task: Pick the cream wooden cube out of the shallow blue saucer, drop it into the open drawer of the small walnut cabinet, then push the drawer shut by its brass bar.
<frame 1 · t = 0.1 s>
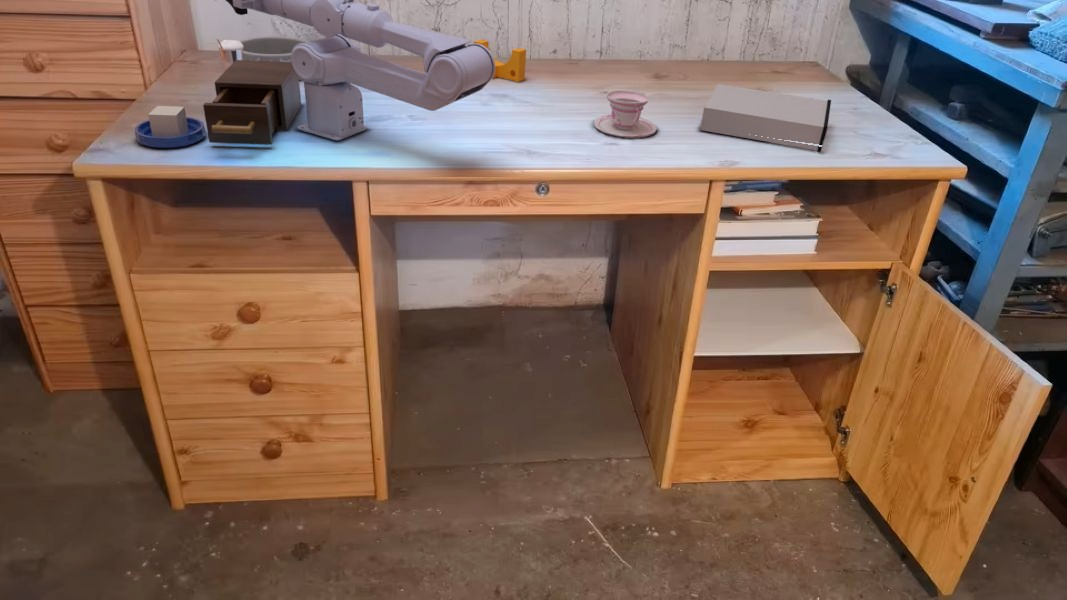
cabinet: (263, 116, 143), on the table
disc drive: (764, 128, 154), on the table
teacup: (624, 128, 149), on the table
dog bowl: (276, 71, 167), on the table
block: (168, 123, 130), in the blue saucer
blue saucer: (171, 138, 131), on the table
drawer: (244, 115, 131), point 4 cm above the table, slide at 8.0 cm
pipe clamp: (496, 76, 173), on the table
milkshake: (235, 89, 155), on the table
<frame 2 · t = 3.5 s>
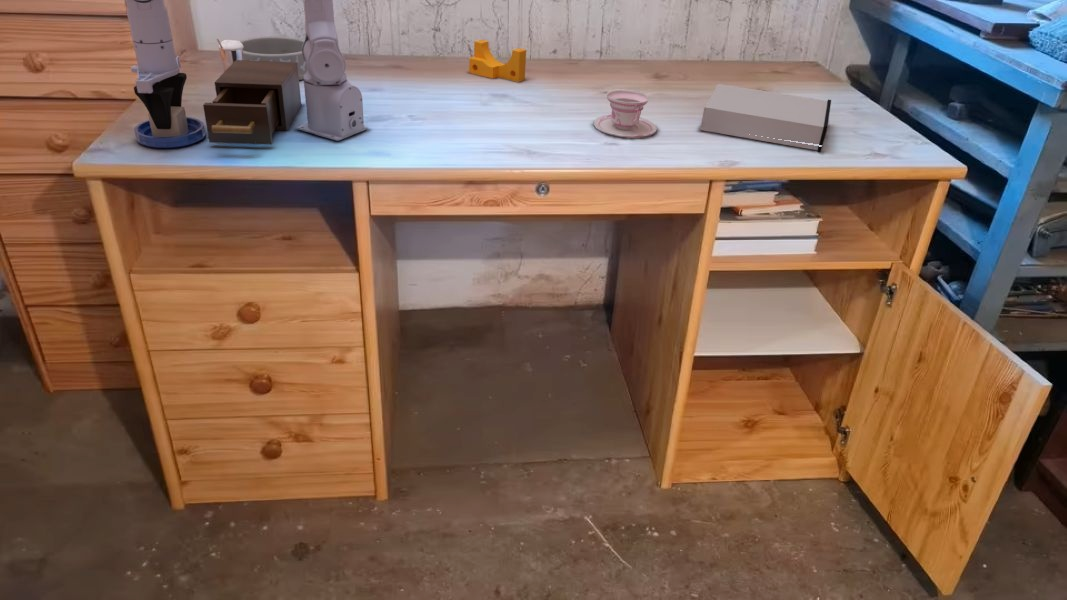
hand: (168, 123, 130), 3 cm above the table, tool pointing down, fingers closed on block, 4 cm apart
block: (168, 123, 129), in the blue saucer, touching gripper
everything else where it was.
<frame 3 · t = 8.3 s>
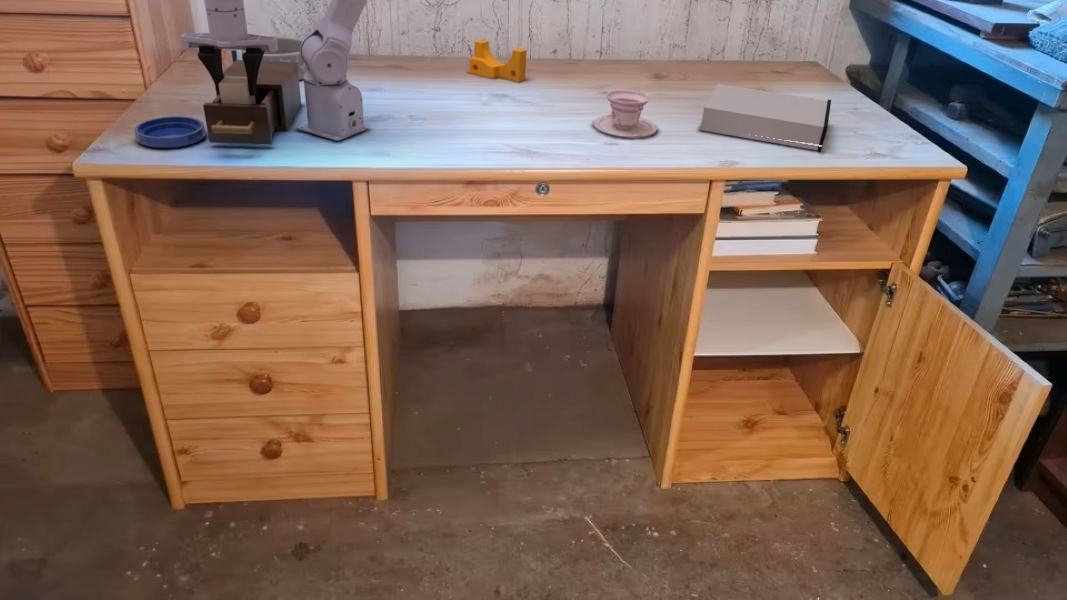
hand: (237, 93, 130), 7 cm above the table, tool pointing down, fingers closed on block, 4 cm apart
block: (237, 93, 130), point 7 cm above the table, touching gripper
everything else where it was.
when the fingers open (8 cm above the table, at t = 13.5 s): block drops 3 cm, resting on drawer.
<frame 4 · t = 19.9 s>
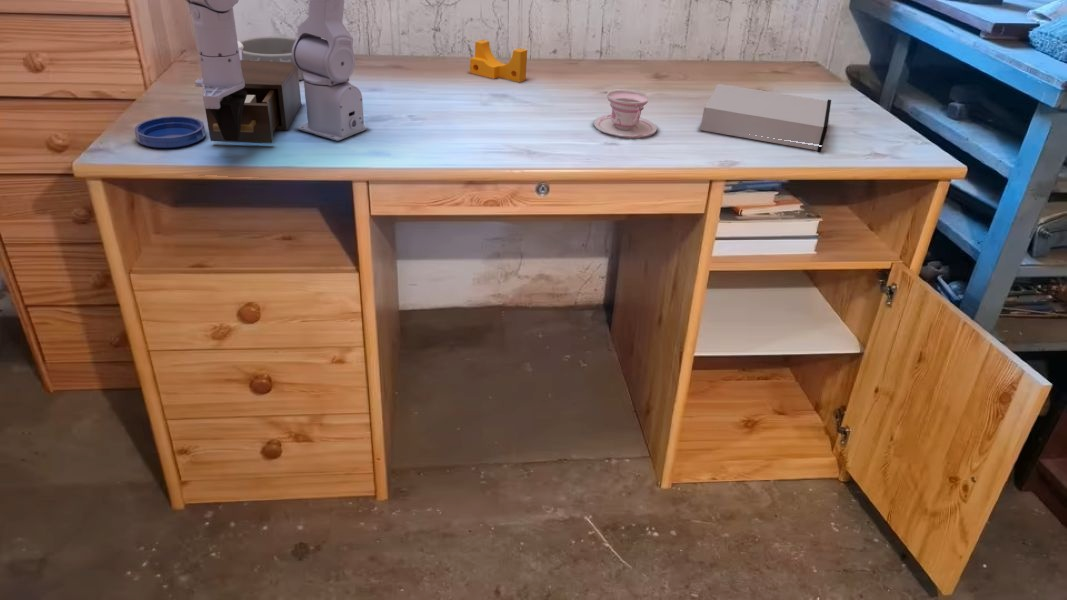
hand: (231, 139, 124), 3 cm above the table, tool pointing down, fingers closed
block: (240, 111, 132), point 4 cm above the table, touching drawer
drawer: (245, 114, 131), point 4 cm above the table, slide at 7.3 cm, touching block, gripper
everything else where it was.
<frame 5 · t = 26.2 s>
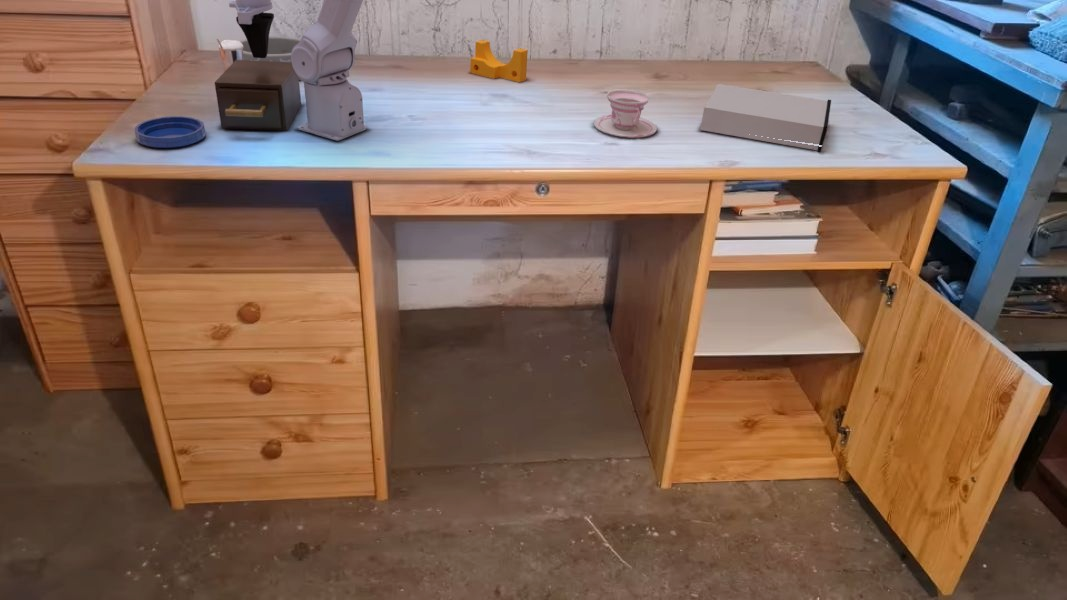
hand: (260, 57, 140), 10 cm above the table, tool pointing down, fingers closed
block: (251, 97, 138), in the cabinet, point 4 cm above the table, touching drawer
drawer: (255, 100, 137), point 4 cm above the table, slide at 0.0 cm, touching block
everything else where it was.
at the end: block 2.8 cm from the cabinet (horizontally); block point 4.2 cm above the table; drawer slide at 0.0 cm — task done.
